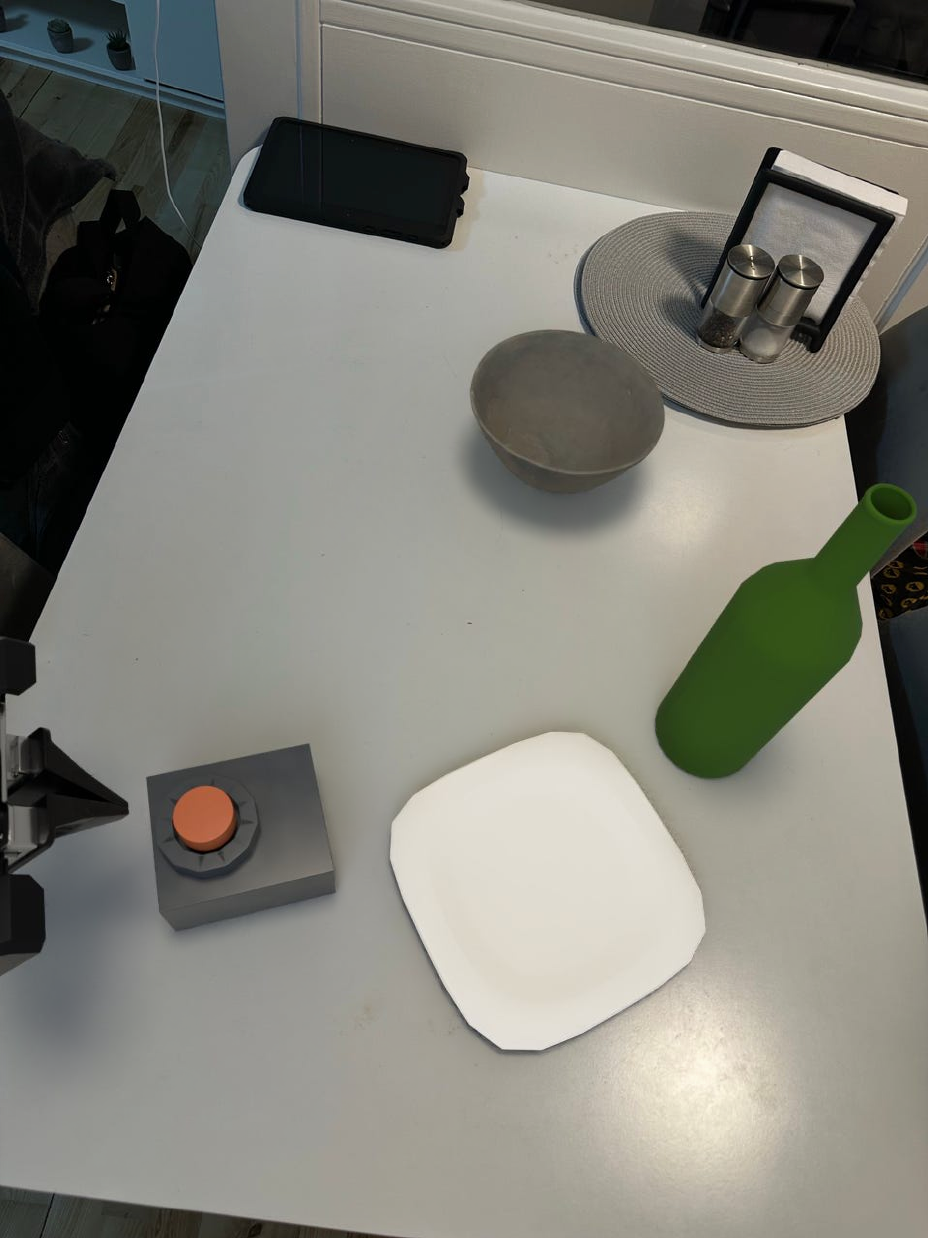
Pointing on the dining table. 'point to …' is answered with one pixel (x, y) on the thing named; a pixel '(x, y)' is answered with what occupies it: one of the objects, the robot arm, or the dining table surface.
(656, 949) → the plate
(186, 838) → the button
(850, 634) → the wine bottle
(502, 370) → the bowl
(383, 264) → the dining table surface
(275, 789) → the control block
